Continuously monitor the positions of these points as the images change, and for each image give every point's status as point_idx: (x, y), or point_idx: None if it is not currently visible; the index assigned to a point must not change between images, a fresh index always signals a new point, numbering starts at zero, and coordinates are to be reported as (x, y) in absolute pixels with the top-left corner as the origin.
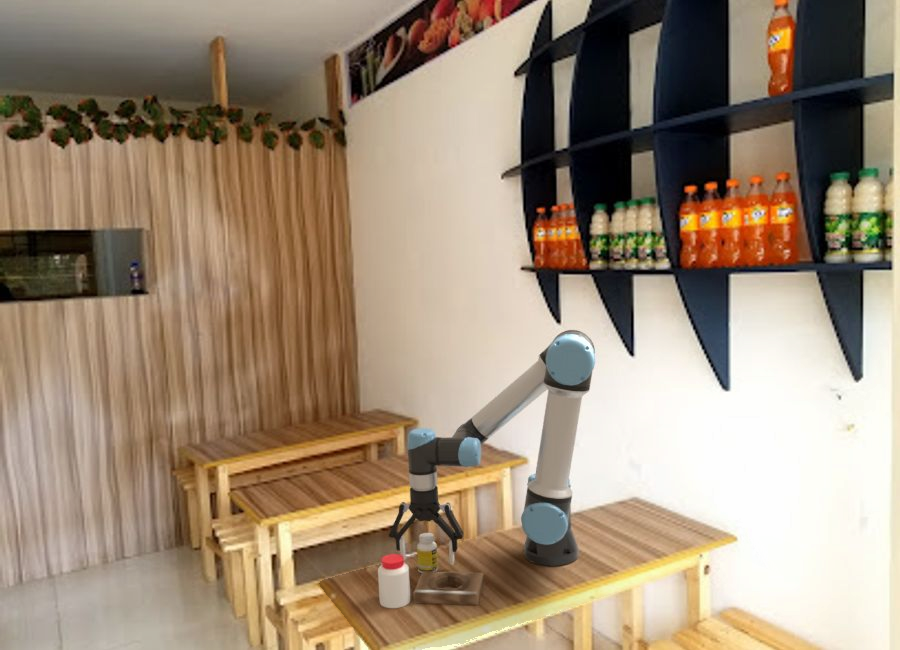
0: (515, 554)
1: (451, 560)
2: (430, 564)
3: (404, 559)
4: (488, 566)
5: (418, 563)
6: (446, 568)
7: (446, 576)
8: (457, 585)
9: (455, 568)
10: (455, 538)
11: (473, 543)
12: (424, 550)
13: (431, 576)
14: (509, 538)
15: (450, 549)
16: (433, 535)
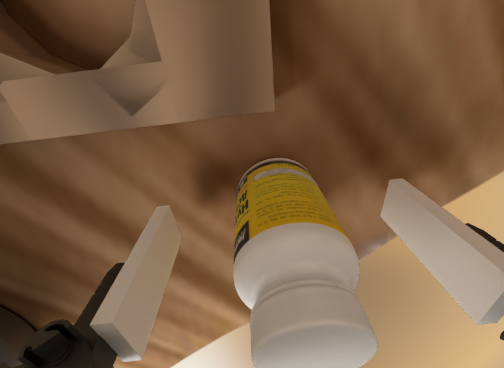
0: (49, 314)
1: (154, 220)
2: (255, 183)
3: (389, 204)
4: (74, 249)
5: (317, 186)
6: (209, 214)
7: (106, 65)
8: (72, 65)
9: (177, 219)
10: (32, 364)
11: (195, 335)
12: (297, 227)
13: (200, 45)
14: (121, 361)
15: (131, 267)
16: (256, 366)
